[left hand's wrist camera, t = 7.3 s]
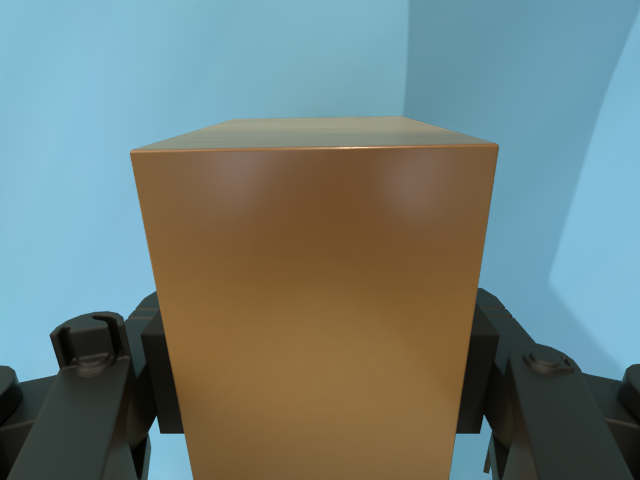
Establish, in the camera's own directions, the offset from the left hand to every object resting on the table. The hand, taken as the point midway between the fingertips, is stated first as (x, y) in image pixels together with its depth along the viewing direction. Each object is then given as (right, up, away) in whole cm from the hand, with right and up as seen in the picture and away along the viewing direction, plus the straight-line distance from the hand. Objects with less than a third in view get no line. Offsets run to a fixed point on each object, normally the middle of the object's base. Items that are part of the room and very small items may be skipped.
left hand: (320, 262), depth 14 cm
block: (0, -30, +12) cm, 32 cm away
